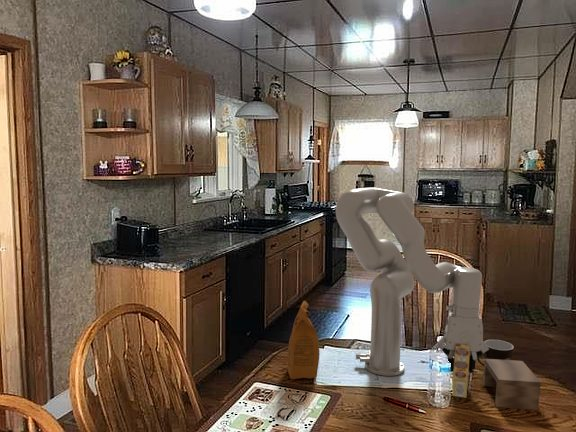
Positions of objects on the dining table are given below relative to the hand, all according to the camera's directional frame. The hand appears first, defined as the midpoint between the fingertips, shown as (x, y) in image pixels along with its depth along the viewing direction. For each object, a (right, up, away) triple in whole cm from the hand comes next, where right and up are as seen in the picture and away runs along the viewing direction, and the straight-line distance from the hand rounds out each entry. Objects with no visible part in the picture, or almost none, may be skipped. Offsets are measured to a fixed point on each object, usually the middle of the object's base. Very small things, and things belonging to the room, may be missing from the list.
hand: (460, 369), depth 148 cm
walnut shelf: (+13, -7, -2) cm, 15 cm away
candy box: (0, -7, +1) cm, 7 cm away
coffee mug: (+14, -5, +12) cm, 19 cm away
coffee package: (-46, -5, +12) cm, 48 cm away
